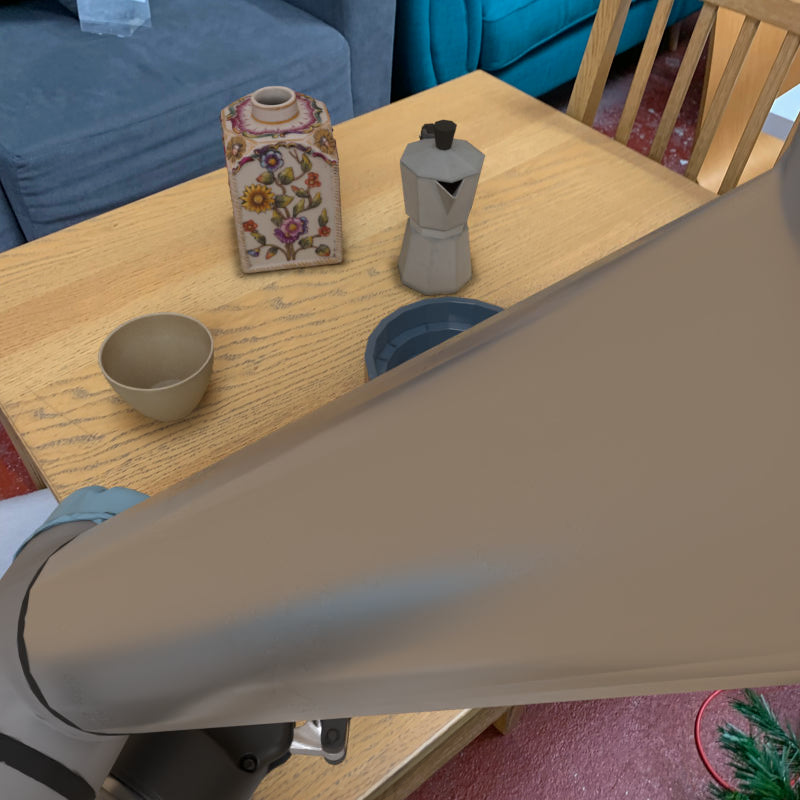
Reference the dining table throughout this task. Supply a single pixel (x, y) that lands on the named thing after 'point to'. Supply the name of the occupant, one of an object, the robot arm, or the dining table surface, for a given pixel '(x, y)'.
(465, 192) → the coffee maker
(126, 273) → the dining table surface
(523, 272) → the dining table surface
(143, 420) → the dining table surface
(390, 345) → the bowl
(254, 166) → the decorative jar
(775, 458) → the robot arm
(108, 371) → the small beige bowl
